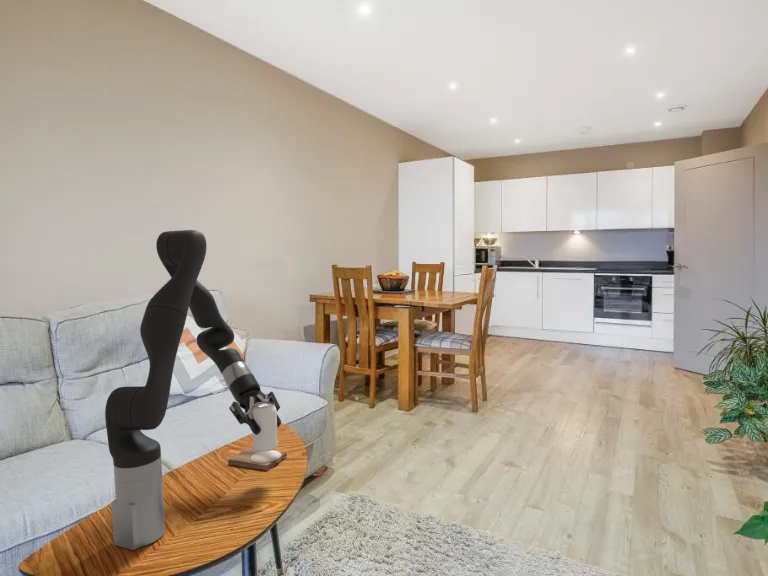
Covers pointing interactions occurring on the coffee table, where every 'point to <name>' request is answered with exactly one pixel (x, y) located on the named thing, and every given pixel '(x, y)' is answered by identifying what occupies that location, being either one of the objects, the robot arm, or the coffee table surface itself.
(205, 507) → the coffee table surface
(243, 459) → the board
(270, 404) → the can
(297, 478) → the coffee table surface
